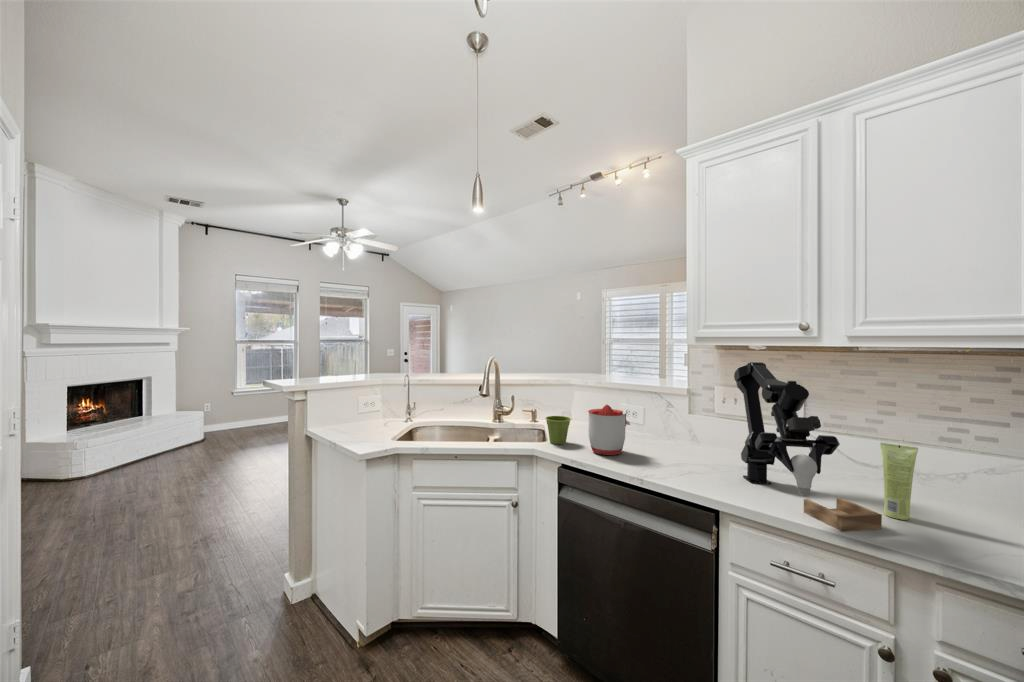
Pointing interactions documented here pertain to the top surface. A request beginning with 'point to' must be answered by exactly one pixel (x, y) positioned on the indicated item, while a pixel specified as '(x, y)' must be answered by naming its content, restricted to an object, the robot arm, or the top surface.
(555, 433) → the plant pot
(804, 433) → the robot arm
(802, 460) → the lightbulb
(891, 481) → the tube
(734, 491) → the top surface
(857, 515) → the u rest
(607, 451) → the citrus juicer
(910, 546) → the top surface
